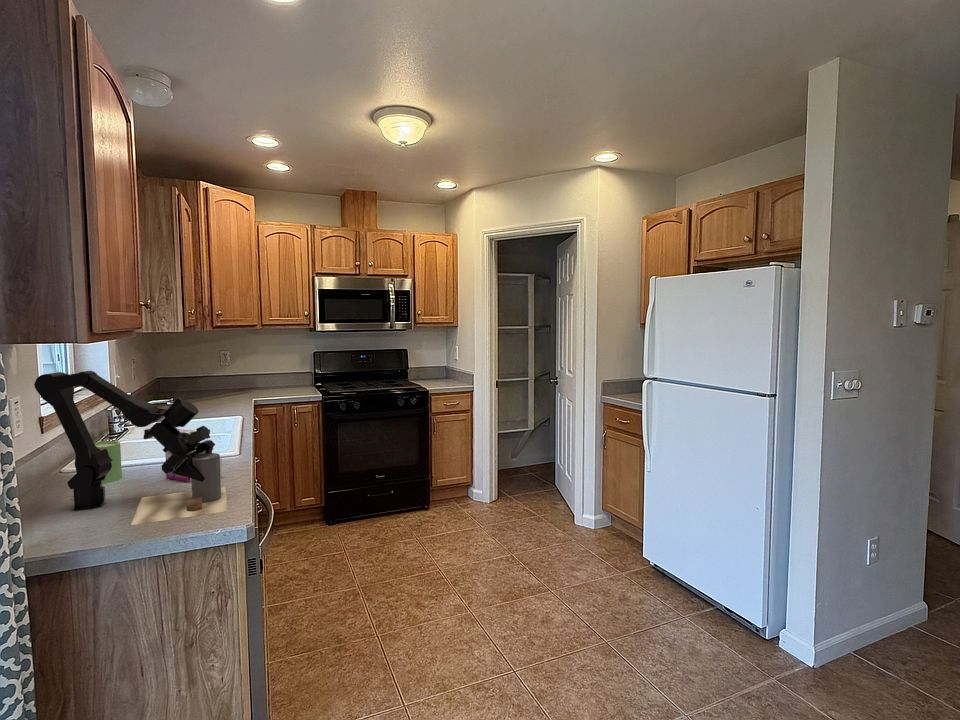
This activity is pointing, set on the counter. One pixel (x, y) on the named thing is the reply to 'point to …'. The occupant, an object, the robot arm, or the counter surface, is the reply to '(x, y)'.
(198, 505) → the brown round knob
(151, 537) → the counter surface
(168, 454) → the candy bar box
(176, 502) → the birch board
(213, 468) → the grey cylinder
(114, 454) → the mug
